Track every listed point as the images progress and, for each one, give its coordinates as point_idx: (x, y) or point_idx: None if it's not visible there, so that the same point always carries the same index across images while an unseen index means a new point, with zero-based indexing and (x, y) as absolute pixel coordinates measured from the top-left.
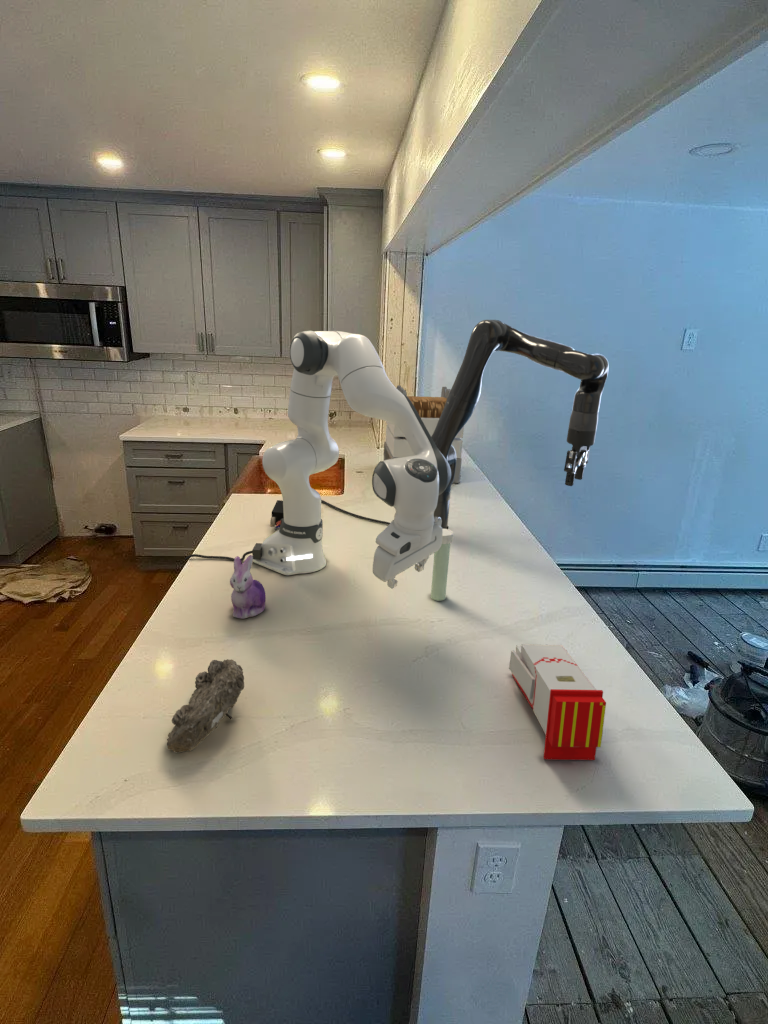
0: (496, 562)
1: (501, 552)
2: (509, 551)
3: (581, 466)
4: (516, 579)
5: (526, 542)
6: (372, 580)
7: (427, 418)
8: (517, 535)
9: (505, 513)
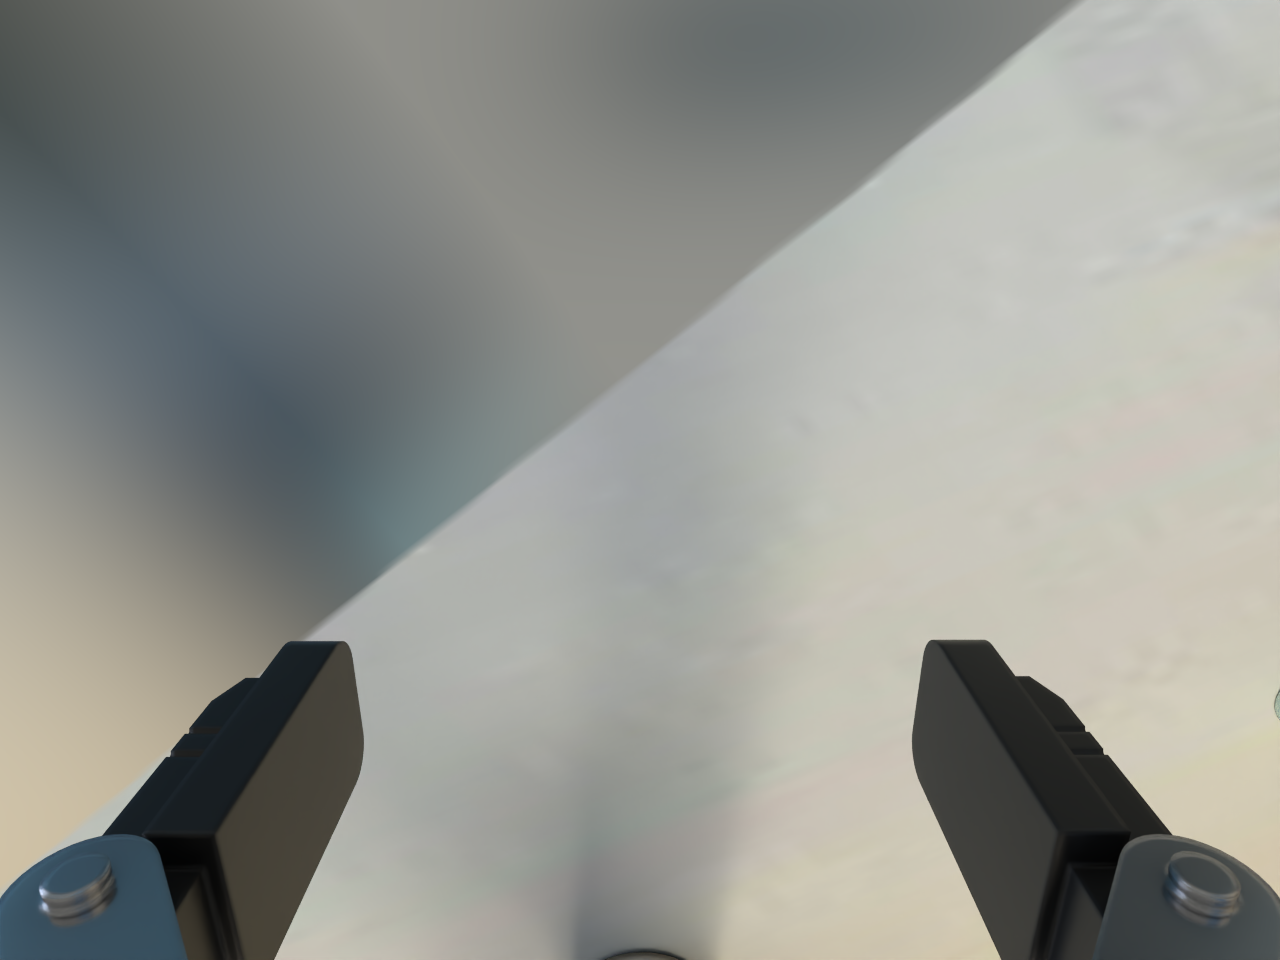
0: (742, 657)
1: (589, 690)
2: (542, 664)
3: (197, 921)
4: (893, 492)
5: None
6: None
7: None
8: None
9: (4, 892)
